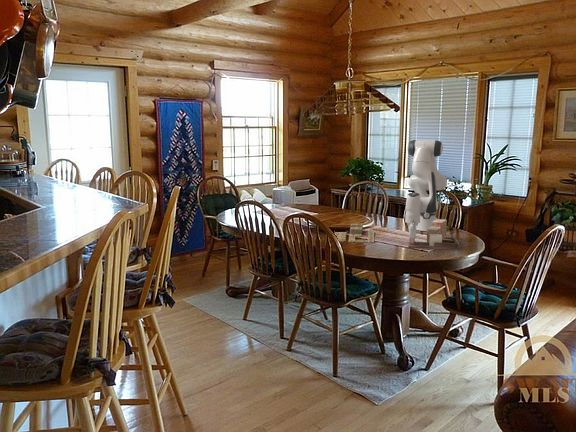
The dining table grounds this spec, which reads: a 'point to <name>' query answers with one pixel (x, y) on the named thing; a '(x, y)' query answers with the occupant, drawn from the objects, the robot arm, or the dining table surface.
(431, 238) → the block
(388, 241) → the dining table surface
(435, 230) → the stack of blocks
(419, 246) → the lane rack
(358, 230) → the pile of dominoes
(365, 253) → the dining table surface
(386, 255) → the dining table surface
